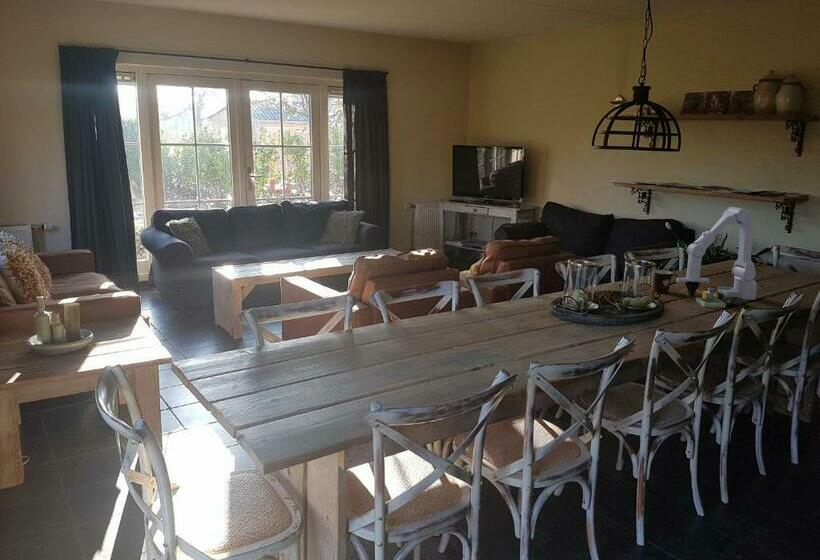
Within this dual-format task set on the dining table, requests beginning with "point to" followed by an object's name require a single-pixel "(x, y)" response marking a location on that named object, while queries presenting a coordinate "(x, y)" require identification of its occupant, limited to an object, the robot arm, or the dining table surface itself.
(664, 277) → the coffee mug
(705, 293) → the block
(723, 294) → the trolley
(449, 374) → the dining table surface
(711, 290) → the stop pin
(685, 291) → the pin socket
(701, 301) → the tray
